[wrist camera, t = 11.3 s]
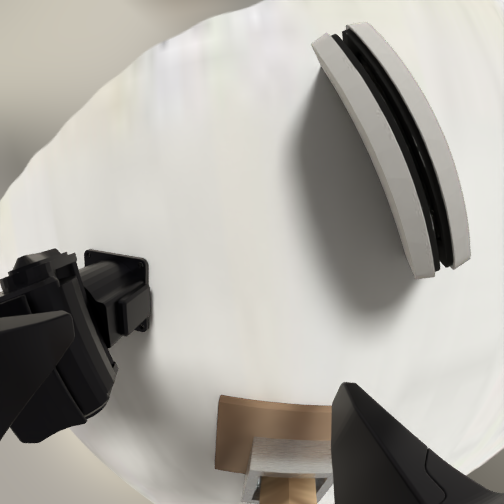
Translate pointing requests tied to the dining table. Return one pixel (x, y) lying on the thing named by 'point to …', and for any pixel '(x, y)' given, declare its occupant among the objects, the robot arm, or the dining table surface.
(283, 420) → the walnut board
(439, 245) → the grey napkin holder
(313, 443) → the steel end cap
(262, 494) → the oak block
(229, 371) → the dining table surface
